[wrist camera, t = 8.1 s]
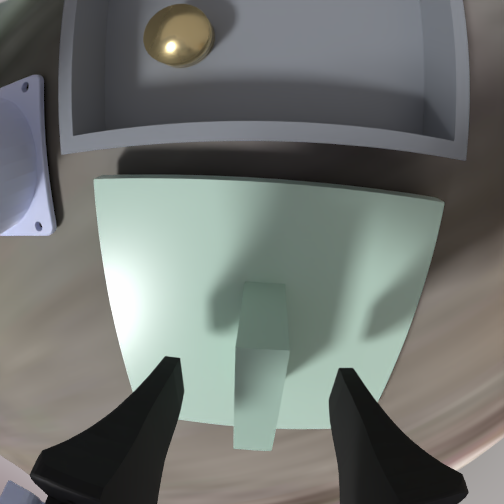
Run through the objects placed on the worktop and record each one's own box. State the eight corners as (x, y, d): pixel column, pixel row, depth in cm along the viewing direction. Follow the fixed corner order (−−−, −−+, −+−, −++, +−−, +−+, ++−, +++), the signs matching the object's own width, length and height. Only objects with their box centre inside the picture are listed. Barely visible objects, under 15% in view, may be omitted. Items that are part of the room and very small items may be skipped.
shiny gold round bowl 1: (154, 71, 10) (142, 68, 9) (155, 18, 9) (144, 10, 8) (215, 65, 10) (209, 59, 9) (215, 10, 9) (209, 0, 8)
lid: (145, 396, 18) (120, 463, 13) (109, 172, 12) (31, 208, 8) (361, 410, 18) (376, 479, 13) (429, 193, 12) (502, 239, 7)
